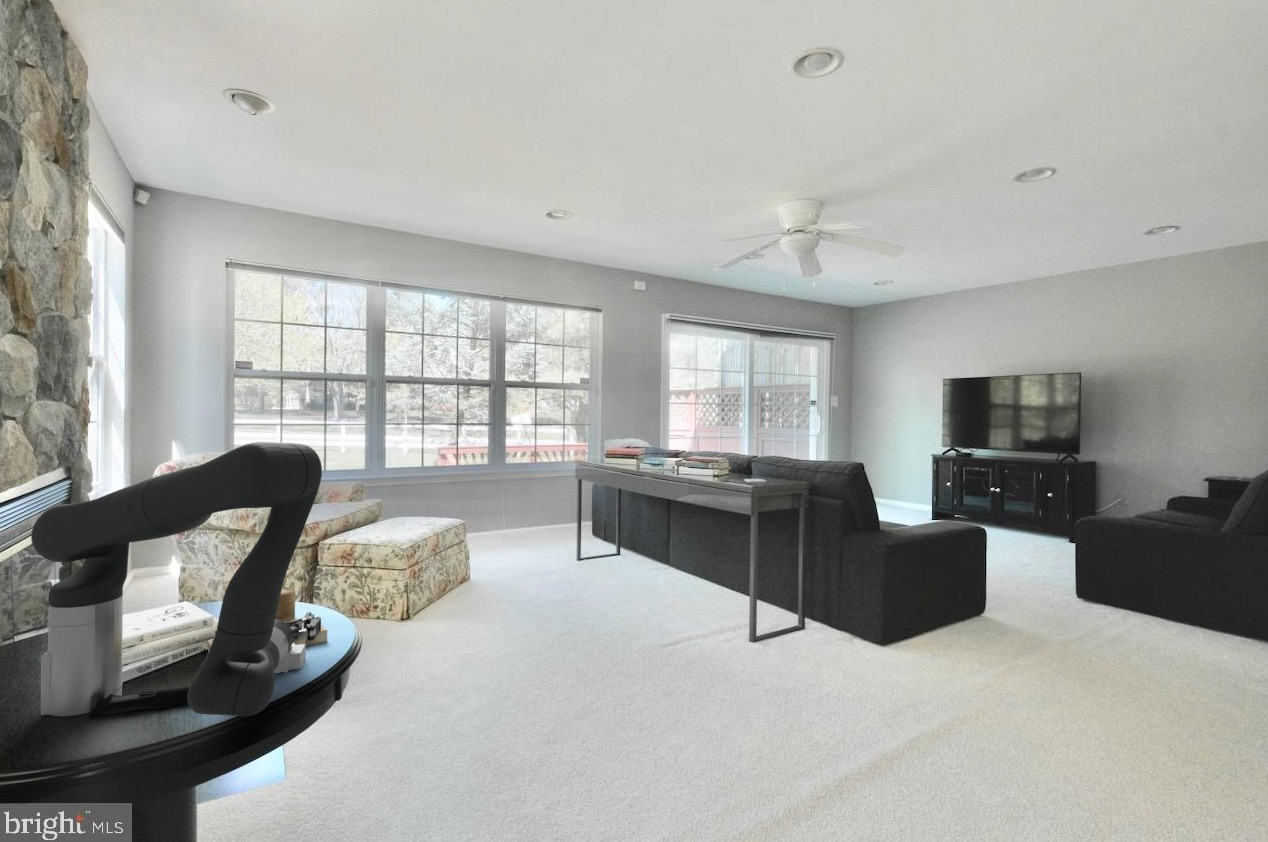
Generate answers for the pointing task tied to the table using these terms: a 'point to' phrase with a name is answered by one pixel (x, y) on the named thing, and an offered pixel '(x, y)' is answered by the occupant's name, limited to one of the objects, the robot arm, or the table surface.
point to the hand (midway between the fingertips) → (284, 619)
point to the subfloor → (302, 640)
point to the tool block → (293, 658)
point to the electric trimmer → (140, 701)
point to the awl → (286, 606)
